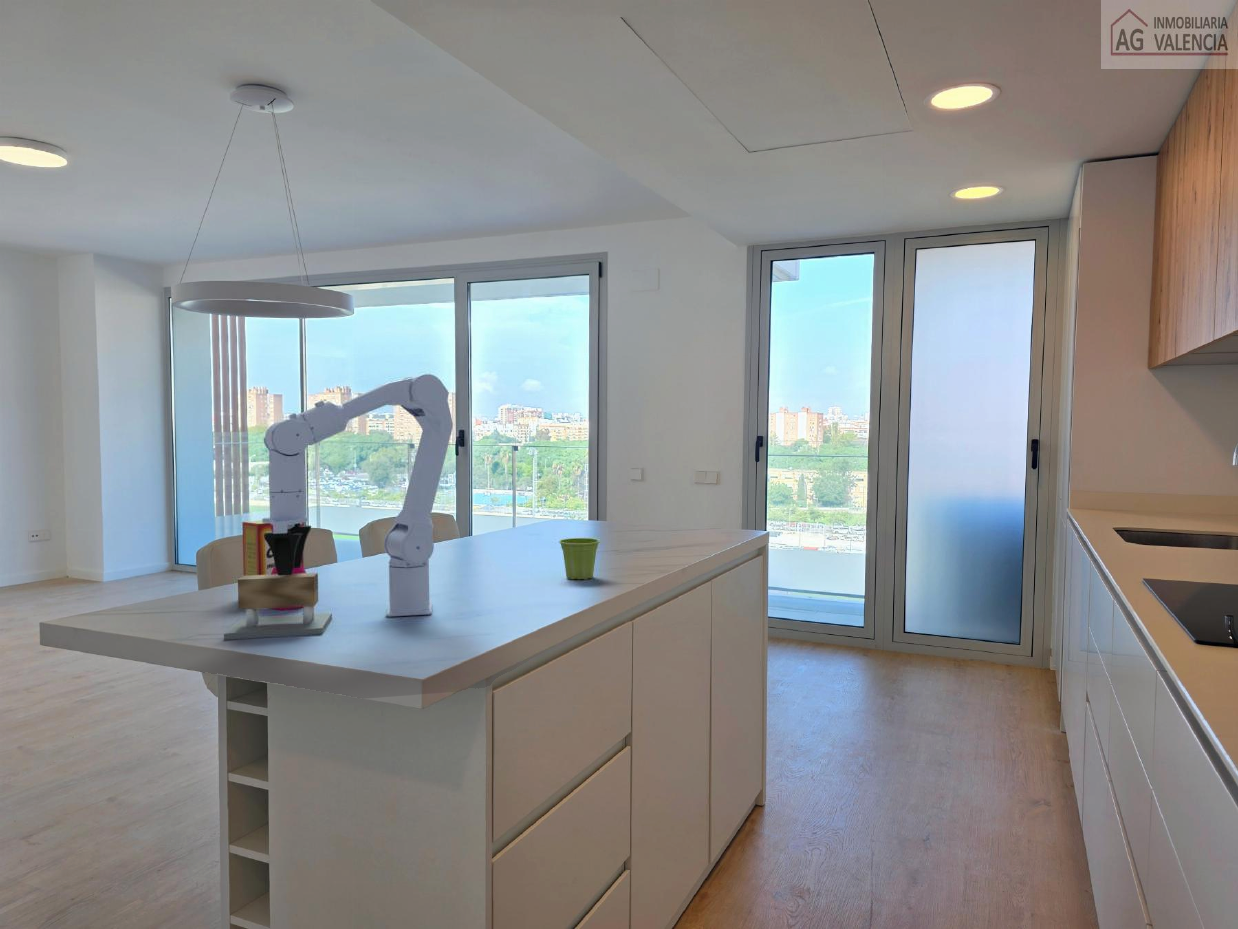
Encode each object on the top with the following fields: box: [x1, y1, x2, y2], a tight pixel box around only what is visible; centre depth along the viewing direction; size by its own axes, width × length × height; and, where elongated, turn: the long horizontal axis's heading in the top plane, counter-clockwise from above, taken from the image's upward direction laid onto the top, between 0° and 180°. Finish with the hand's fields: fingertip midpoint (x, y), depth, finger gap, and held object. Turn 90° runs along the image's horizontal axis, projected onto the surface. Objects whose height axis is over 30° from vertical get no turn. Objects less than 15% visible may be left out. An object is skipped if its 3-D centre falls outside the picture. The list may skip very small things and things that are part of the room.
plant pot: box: [558, 537, 601, 581], centre depth 183 cm, size 9×9×9 cm
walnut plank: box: [237, 572, 319, 610], centre depth 136 cm, size 12×4×5 cm, turn 102°
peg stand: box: [223, 606, 333, 641], centre depth 136 cm, size 12×15×4 cm
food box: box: [241, 520, 304, 577], centre depth 164 cm, size 10×6×16 cm
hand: (289, 571), depth 136 cm, fingers open, 7 cm apart
